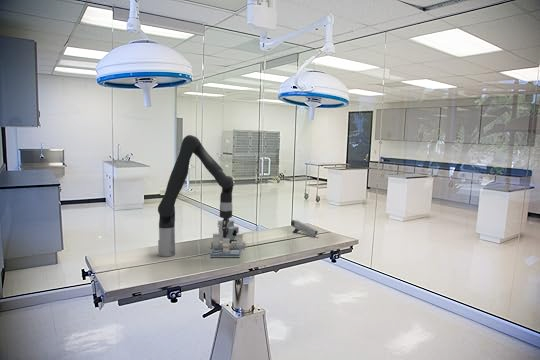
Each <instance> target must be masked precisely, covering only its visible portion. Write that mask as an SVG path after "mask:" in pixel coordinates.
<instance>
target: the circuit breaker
mask: <svg viewBox="0 0 540 360" xmlns="http://www.w3.org/2000/svg"><path fill="white" fill-rule="evenodd" d="M222 221H223V219H222V220H217V228H218V233H220V236H219V242H220V241H222V242H223V239H229V242H230V241H231V242H232V241H234V240H235V239H237V233H240V232H239V226H236V225H235V221H234V220H232V219H229V228H228V234H227V237H226V238H223V231H222ZM224 229H225V228H224Z"/></svg>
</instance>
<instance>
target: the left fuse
mask: <svg viewBox="0 0 540 360" xmlns="http://www.w3.org/2000/svg"><path fill="white" fill-rule="evenodd" d="M219 236H220V233H219V232H213V233H212V238H213V239H212V241H213V248H219V247H220V240H219Z"/></svg>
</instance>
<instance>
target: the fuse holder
mask: <svg viewBox="0 0 540 360" xmlns="http://www.w3.org/2000/svg"><path fill="white" fill-rule="evenodd" d="M219 244H220V247H219V248H223V241H220V240H219ZM229 248H237V240H236V241H234V240H232V241H231V244H229ZM245 249H246V241H244V240H243V248H241V250H245ZM209 250H213V240H212V241H210V248H209Z"/></svg>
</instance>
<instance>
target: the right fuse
mask: <svg viewBox="0 0 540 360" xmlns="http://www.w3.org/2000/svg"><path fill="white" fill-rule="evenodd" d="M243 237H244V235H243V232H239V233H237V238H236V245H237V248H243V241H244V239H243Z"/></svg>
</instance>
